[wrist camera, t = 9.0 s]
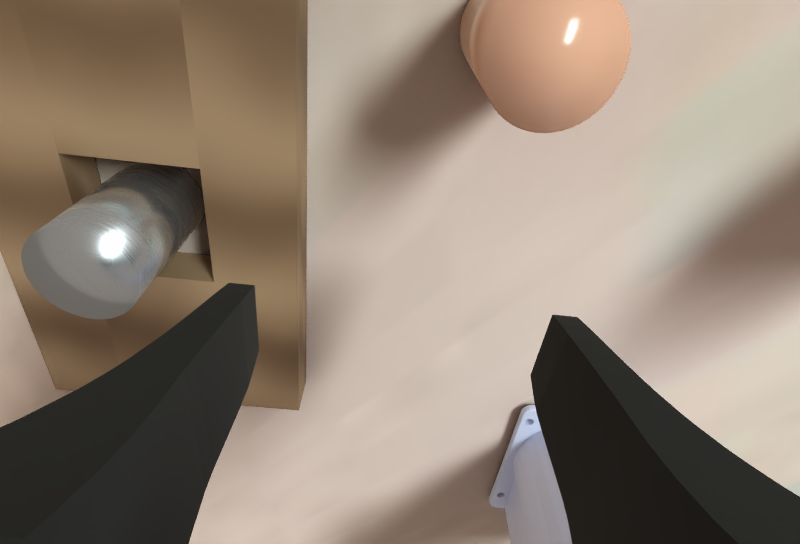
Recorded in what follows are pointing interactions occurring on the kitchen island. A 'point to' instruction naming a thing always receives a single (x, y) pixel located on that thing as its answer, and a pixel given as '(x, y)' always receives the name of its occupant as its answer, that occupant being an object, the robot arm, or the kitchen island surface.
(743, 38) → the kitchen island surface
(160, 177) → the steel pin
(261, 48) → the wooden board with hole
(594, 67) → the terracotta pin
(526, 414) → the robot arm
